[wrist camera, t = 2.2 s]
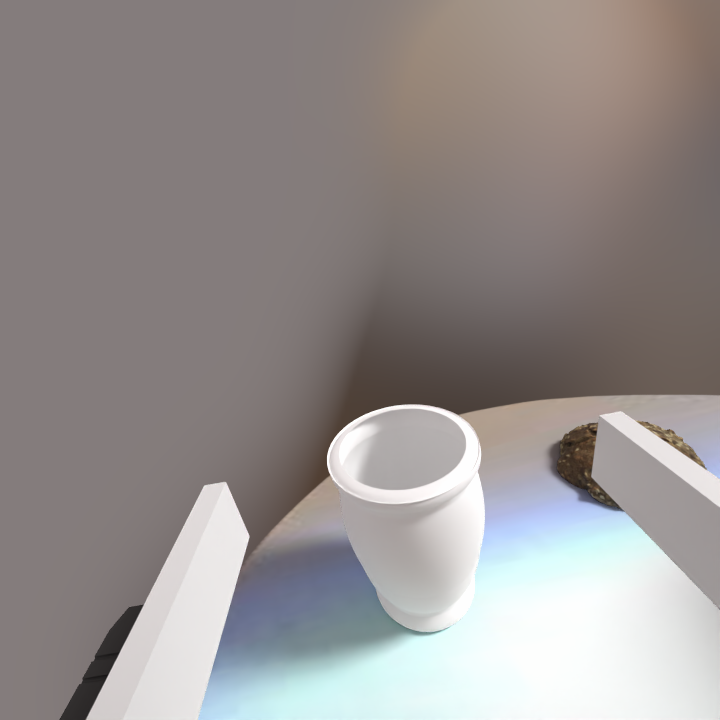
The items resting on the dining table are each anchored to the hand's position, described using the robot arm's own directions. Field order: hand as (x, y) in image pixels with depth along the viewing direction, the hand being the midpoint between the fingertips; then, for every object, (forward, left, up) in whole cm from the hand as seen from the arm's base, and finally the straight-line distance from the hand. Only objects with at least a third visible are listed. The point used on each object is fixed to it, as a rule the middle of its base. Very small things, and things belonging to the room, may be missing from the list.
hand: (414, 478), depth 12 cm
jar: (+7, -7, -21) cm, 23 cm away
